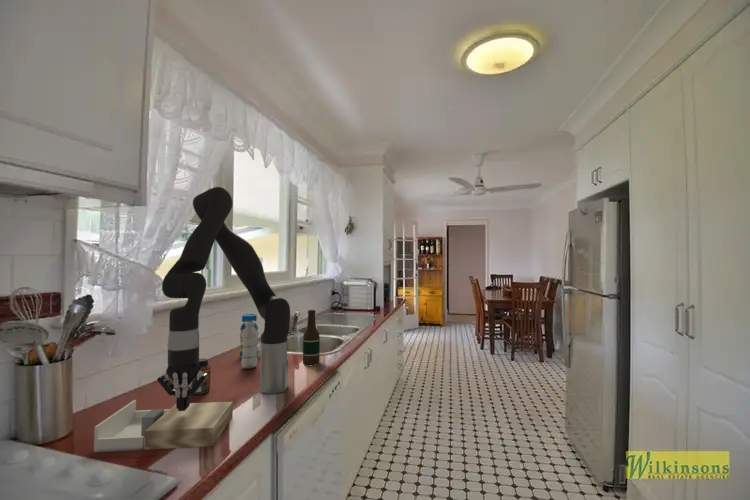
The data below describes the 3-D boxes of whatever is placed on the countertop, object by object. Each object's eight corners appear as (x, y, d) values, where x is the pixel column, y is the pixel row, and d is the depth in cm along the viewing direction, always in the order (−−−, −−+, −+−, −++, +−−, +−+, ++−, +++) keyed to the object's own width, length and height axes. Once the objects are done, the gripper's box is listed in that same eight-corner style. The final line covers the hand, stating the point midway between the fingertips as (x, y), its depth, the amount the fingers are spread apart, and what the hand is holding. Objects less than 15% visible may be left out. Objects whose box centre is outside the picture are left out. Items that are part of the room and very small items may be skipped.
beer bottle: (305, 360, 158) (306, 308, 159) (321, 361, 157) (322, 309, 158) (299, 365, 151) (300, 311, 151) (316, 366, 150) (317, 311, 150)
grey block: (163, 408, 94) (152, 409, 94) (153, 417, 89) (141, 417, 89) (163, 427, 94) (151, 427, 93) (153, 436, 89) (141, 437, 88)
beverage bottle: (259, 356, 164) (260, 315, 165) (241, 359, 160) (242, 316, 160) (255, 352, 171) (256, 312, 172) (237, 355, 167) (238, 314, 167)
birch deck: (232, 416, 101) (232, 401, 101) (212, 446, 85) (213, 427, 85) (175, 419, 100) (175, 403, 100) (144, 449, 84) (145, 430, 84)
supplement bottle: (202, 396, 117) (202, 362, 117) (187, 394, 118) (187, 361, 118) (213, 389, 123) (214, 357, 123) (199, 388, 124) (199, 356, 124)
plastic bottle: (260, 367, 148) (261, 321, 149) (247, 371, 143) (248, 323, 143) (250, 364, 152) (251, 319, 152) (237, 368, 146) (238, 321, 147)
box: (173, 419, 99) (174, 398, 100) (142, 449, 84) (143, 424, 84) (133, 421, 98) (133, 400, 98) (93, 452, 82) (94, 426, 83)
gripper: (214, 341, 97) (213, 403, 97) (165, 342, 96) (164, 405, 96) (203, 348, 90) (202, 415, 90) (150, 349, 89) (149, 417, 88)
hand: (182, 409), depth 93 cm, fingers closed
